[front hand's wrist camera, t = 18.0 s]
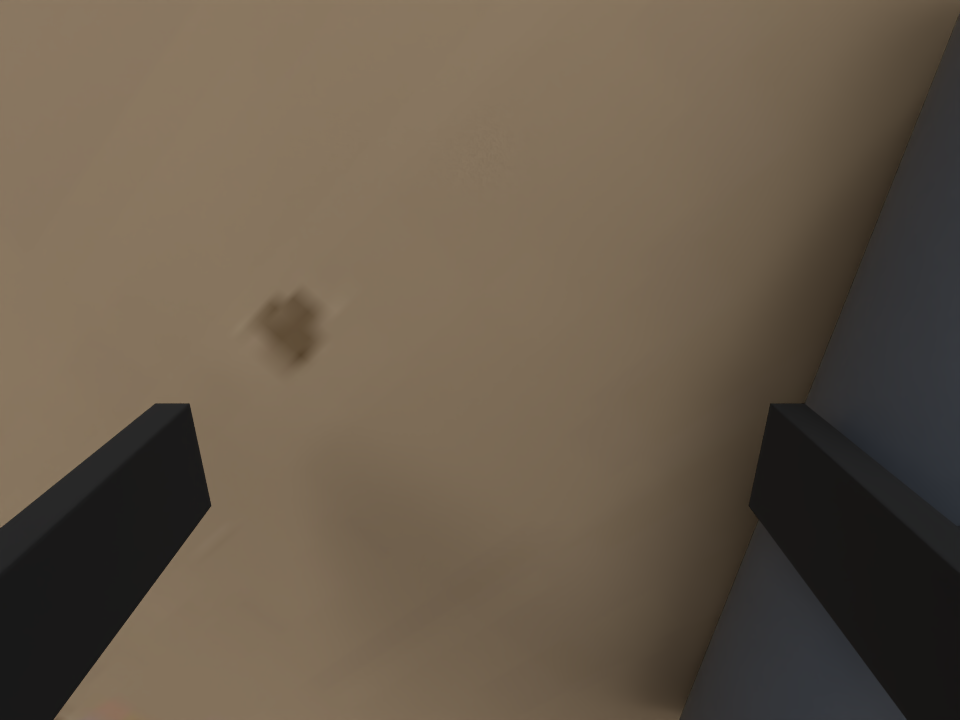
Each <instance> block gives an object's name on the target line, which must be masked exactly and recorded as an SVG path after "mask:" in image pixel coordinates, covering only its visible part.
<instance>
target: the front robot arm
mask: <svg viewBox="0 0 960 720" xmlns="http://www.w3.org/2000/svg"><path fill="white" fill-rule="evenodd" d="M210 507H211V502H210V497H209V493H208V488H207V483H206V479H205V474H204V469H203V465H202V460H201V455H200V450H199V446H198V441H197V436H196V432H195V427H194V422H193V418H192V413H191V408H190V404H154V405H153V406H152V407H151V408H149V409H148V410H147V411H146V412H144V413H143V414H142V415H141V416H139V417H138V418H137V419H136V420H134V421H133V422H132V423H131V424H129V425H128V426H127V427H126V428H124V429H123V430H122V431H121V432H119V433H118V434H117V435H116V436H115V437H113V438H112V439H111V440H110V441H108V442H107V443H106V444H105V445H103V446H102V447H101V448H100V449H98V450H97V451H96V452H95V453H93V454H92V455H91V456H90V457H88V458H87V459H86V460H85V461H83V462H82V463H81V464H80V465H78V466H77V467H76V468H75V469H73V470H72V471H71V472H70V473H69V474H67V475H66V476H65V477H64V478H62V479H61V480H60V481H59V482H57V483H56V484H55V485H54V486H52V487H51V488H50V489H49V490H47V491H46V492H45V493H44V494H42V495H41V496H40V497H39V498H37V499H36V500H35V501H34V502H32V503H31V504H30V505H29V506H27V507H26V508H25V509H24V510H23V511H21V512H20V513H19V514H18V515H16V516H15V517H14V518H13V519H11V520H10V521H9V522H8V523H6V524H5V525H4V526H3V527H1V528H0V720H53V719H54V718H55V717H56V715H57V714H58V713H59V711H60V710H61V708H62V707H63V706H64V704H65V703H66V702H67V700H68V699H69V698H70V696H71V695H72V694H73V692H74V691H75V690H76V688H77V687H78V685H79V684H80V683H81V681H82V680H83V679H84V677H85V676H86V675H87V673H88V672H89V671H90V669H91V668H92V667H93V665H94V664H95V662H96V661H97V660H98V658H99V657H100V656H101V654H102V653H103V652H104V650H105V649H106V648H107V646H108V645H109V644H110V642H111V641H112V640H113V638H114V637H115V635H116V634H117V633H118V631H119V630H120V629H121V627H122V626H123V625H124V623H125V622H126V621H127V619H128V618H129V617H130V615H131V614H132V612H133V611H134V610H135V608H136V607H137V606H138V604H139V603H140V602H141V600H142V599H143V598H144V596H145V595H146V594H147V592H148V591H149V589H150V588H151V587H152V585H153V584H154V583H155V581H156V580H157V579H158V577H159V576H160V575H161V573H162V572H163V571H164V569H165V568H166V566H167V565H168V564H169V562H170V561H171V560H172V558H173V557H174V556H175V554H176V553H177V552H178V550H179V549H180V548H181V546H182V545H183V543H184V542H185V541H186V539H187V538H188V537H189V535H190V534H191V533H192V531H193V530H194V529H195V527H196V526H197V525H198V523H199V522H200V520H201V519H202V518H203V516H204V515H205V514H206V512H207V511H208V510H209V508H210ZM749 507H750V508H751V510H752V511H753V512H754V514H755V515H756V516H757V518H758V519H759V520H760V522H761V523H762V525H763V526H764V527H765V529H766V530H767V531H768V533H769V534H770V535H771V537H772V538H773V539H774V541H775V542H776V543H777V545H778V546H779V548H780V549H781V550H782V552H783V553H784V554H785V556H786V557H787V558H788V560H789V561H790V562H791V564H792V565H793V566H794V568H795V569H796V571H797V572H798V573H799V575H800V576H801V577H802V579H803V580H804V581H805V583H806V584H807V585H808V587H809V588H810V589H811V591H812V592H813V594H814V595H815V596H816V598H817V599H818V600H819V602H820V603H821V604H822V606H823V607H824V608H825V610H826V611H827V612H828V614H829V615H830V617H831V618H832V619H833V621H834V622H835V623H836V625H837V626H838V627H839V629H840V630H841V631H842V633H843V634H844V635H845V637H846V638H847V640H848V641H849V642H850V644H851V645H852V646H853V648H854V649H855V650H856V652H857V653H858V654H859V656H860V657H861V658H862V660H863V661H864V663H865V664H866V665H867V667H868V668H869V669H870V671H871V672H872V673H873V675H874V676H875V677H876V679H877V680H878V681H879V683H880V684H881V685H882V687H883V688H884V690H885V691H886V692H887V694H888V695H889V696H890V698H891V699H892V700H893V702H894V703H895V704H896V706H897V707H898V708H899V710H900V711H901V713H902V714H903V715H904V717H905V718H906V719H907V720H960V526H956V525H955V524H954V523H952V522H951V521H950V520H949V519H947V518H946V517H945V516H944V515H942V514H941V513H940V512H939V511H937V510H936V509H935V508H934V507H932V506H931V505H930V504H929V503H928V502H926V501H925V500H924V499H923V498H921V497H920V496H919V495H918V494H916V493H915V492H914V491H913V490H911V489H910V488H909V487H908V486H906V485H905V484H904V483H903V482H901V481H900V480H899V479H898V478H896V477H895V476H894V475H893V474H891V473H890V472H889V471H888V470H887V469H885V468H884V467H883V466H882V465H880V464H879V463H878V462H877V461H875V460H874V459H873V458H872V457H870V456H869V455H868V454H867V453H865V452H864V451H863V450H862V449H860V448H859V447H858V446H857V445H855V444H854V443H853V442H852V441H850V440H849V439H848V438H847V437H845V436H844V435H843V434H842V433H841V432H839V431H838V430H837V429H836V428H834V427H833V426H832V425H831V424H829V423H828V422H827V421H826V420H824V419H823V418H822V417H821V416H819V415H818V414H817V413H816V412H814V411H813V410H812V409H811V408H809V407H808V406H807V405H806V404H770V408H769V413H768V417H767V422H766V427H765V432H764V436H763V441H762V446H761V450H760V455H759V460H758V464H757V469H756V474H755V479H754V483H753V488H752V493H751V497H750V502H749Z"/></svg>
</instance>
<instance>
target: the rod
mask: <svg viewBox="0 0 960 720" xmlns="http://www.w3.org/2000/svg"><path fill="white" fill-rule="evenodd" d="M805 404H806V405H807V406H808V407H809V408H811V409H812V410H813V411H814V412H816V413H817V414H818V415H819V416H821V417H822V418H823V419H824V420H826V421H827V422H828V423H829V424H831V425H832V426H833V427H834V428H836V429H837V430H838V431H839V432H841V433H842V434H843V435H844V436H845V437H847V438H848V439H849V440H850V441H852V442H853V443H854V444H855V445H857V446H858V447H859V448H860V449H862V450H863V451H864V452H865V453H867V454H868V455H869V456H870V457H872V458H873V459H874V460H875V461H877V462H878V463H879V464H880V465H882V466H883V467H884V468H885V469H887V470H888V471H889V472H890V473H891V474H893V475H894V476H895V477H896V478H898V479H899V480H900V481H901V482H903V483H904V484H905V485H906V486H908V487H909V488H910V489H911V490H913V491H914V492H915V493H916V494H918V495H919V496H920V497H921V498H923V499H924V500H925V501H926V502H928V503H929V504H930V505H931V506H932V507H934V508H935V509H936V510H937V511H939V512H940V513H941V514H942V515H944V516H945V517H946V518H947V519H949V520H950V521H951V522H952V523H954V524H955V525H956V526H960V14H959V16H958V19H957V21H956V24H955V26H954V29H953V31H952V34H951V36H950V39H949V42H948V44H947V47H946V49H945V52H944V54H943V57H942V59H941V62H940V64H939V67H938V69H937V72H936V74H935V77H934V79H933V82H932V84H931V87H930V89H929V92H928V94H927V97H926V99H925V102H924V104H923V107H922V110H921V112H920V115H919V117H918V120H917V122H916V125H915V127H914V130H913V132H912V135H911V137H910V140H909V142H908V145H907V147H906V150H905V152H904V155H903V157H902V160H901V162H900V165H899V167H898V170H897V173H896V175H895V178H894V180H893V183H892V185H891V188H890V190H889V193H888V195H887V198H886V200H885V203H884V205H883V208H882V210H881V213H880V215H879V218H878V220H877V223H876V225H875V228H874V230H873V233H872V235H871V238H870V241H869V243H868V246H867V248H866V251H865V253H864V256H863V258H862V261H861V263H860V266H859V268H858V271H857V273H856V276H855V278H854V281H853V283H852V286H851V288H850V291H849V293H848V296H847V298H846V301H845V304H844V306H843V309H842V311H841V314H840V316H839V319H838V321H837V324H836V326H835V329H834V331H833V334H832V336H831V339H830V341H829V344H828V346H827V349H826V351H825V354H824V356H823V359H822V361H821V364H820V366H819V369H818V372H817V374H816V377H815V379H814V382H813V384H812V387H811V389H810V392H809V394H808V397H807V399H806V402H805ZM679 720H907V719H906V718H905V717H904V715H903V714H902V713H901V711H900V710H899V708H898V707H897V706H896V704H895V703H894V702H893V700H892V699H891V698H890V696H889V695H888V694H887V692H886V691H885V690H884V688H883V687H882V685H881V684H880V683H879V681H878V680H877V679H876V677H875V676H874V675H873V673H872V672H871V671H870V669H869V668H868V667H867V665H866V664H865V663H864V661H863V660H862V658H861V657H860V656H859V654H858V653H857V652H856V650H855V649H854V648H853V646H852V645H851V644H850V642H849V641H848V640H847V638H846V637H845V635H844V634H843V633H842V631H841V630H840V629H839V627H838V626H837V625H836V623H835V622H834V621H833V619H832V618H831V617H830V615H829V614H828V612H827V611H826V610H825V608H824V607H823V606H822V604H821V603H820V602H819V600H818V599H817V598H816V596H815V595H814V594H813V592H812V591H811V589H810V588H809V587H808V585H807V584H806V583H805V581H804V580H803V579H802V577H801V576H800V575H799V573H798V572H797V571H796V569H795V568H794V566H793V565H792V564H791V562H790V561H789V560H788V558H787V557H786V556H785V554H784V553H783V552H782V550H781V549H780V548H779V546H778V545H777V543H776V542H775V541H774V539H773V538H772V537H771V535H770V534H769V533H768V531H767V530H766V529H765V527H764V526H763V525H762V523H761V522H760V520H758V523H757V525H756V528H755V530H754V533H753V535H752V538H751V540H750V543H749V545H748V548H747V550H746V553H745V555H744V558H743V560H742V563H741V566H740V568H739V571H738V573H737V576H736V578H735V581H734V583H733V586H732V588H731V591H730V593H729V596H728V598H727V601H726V603H725V606H724V608H723V611H722V613H721V616H720V618H719V621H718V623H717V626H716V628H715V631H714V634H713V636H712V639H711V641H710V644H709V646H708V649H707V651H706V654H705V656H704V659H703V661H702V664H701V666H700V669H699V671H698V674H697V676H696V679H695V681H694V684H693V686H692V689H691V691H690V694H689V697H688V699H687V702H686V704H685V707H684V709H683V712H682V714H681V717H680V719H679Z"/></svg>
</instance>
